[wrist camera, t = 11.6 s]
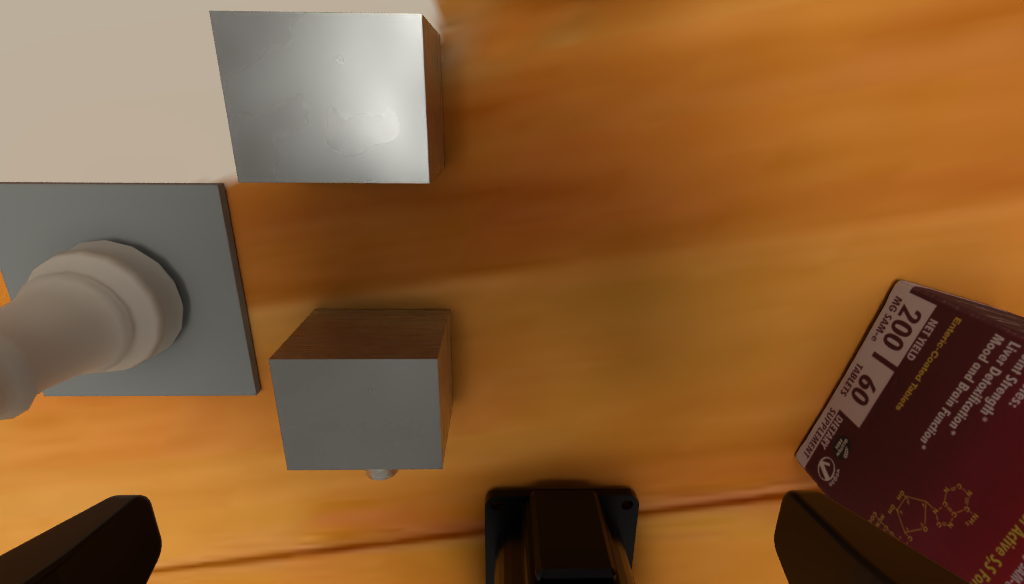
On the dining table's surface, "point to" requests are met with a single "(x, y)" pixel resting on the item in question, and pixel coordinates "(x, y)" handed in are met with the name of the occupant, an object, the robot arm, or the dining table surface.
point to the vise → (346, 159)
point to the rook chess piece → (84, 320)
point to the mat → (167, 240)
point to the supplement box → (933, 433)
